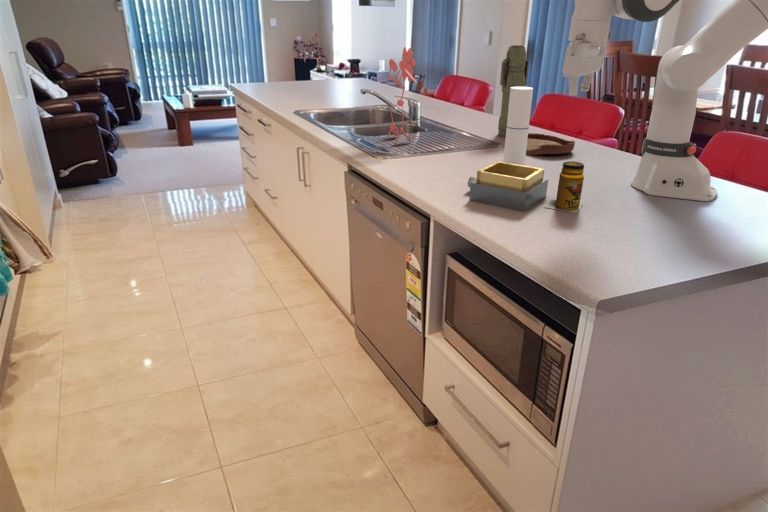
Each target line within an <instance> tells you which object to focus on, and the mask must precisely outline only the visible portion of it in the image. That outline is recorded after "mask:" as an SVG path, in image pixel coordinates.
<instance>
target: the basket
mask: <svg viewBox="0 0 768 512" xmlns="http://www.w3.org/2000/svg"><path fill="white" fill-rule="evenodd" d="M575 144H576V141H575V140H567V139H564V138H560V137H557V136H555V135H549V134H544V133H537V132H536V133H535V132H534V133H533V132H532V133H531V132H530V133H529V132H528V139H527V148H526V155H528V156H539V155H560V154H562V155H563V154H569V153H571V152H572V151H573V150H574V148H575Z"/></svg>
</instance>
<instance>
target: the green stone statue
mask: <svg viewBox="0 0 768 512" xmlns="http://www.w3.org/2000/svg"><path fill="white" fill-rule="evenodd" d="M505 57H506V58H504V59H503V60H502V62H501V67H500V68H501V69H500V70H501V71H500V79H499V80H500V82H499V84H500V86H501V93H502V95H501V100H502V101H501V109H500V116H499V118H498V125H497V130H498V132H497V133H498V134H497V136H498V137H500V138H506V129H507V118H508V108H509V98H510V88H511V87H526V85H527V82H528V77H529V76H528V75H529V68H530V67H529V65H530V60H529V59H528V58H527V50H526V47H525V46H524V45H516V44H515V45H511V46H509V47H508V50H507V51H506V56H505Z"/></svg>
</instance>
